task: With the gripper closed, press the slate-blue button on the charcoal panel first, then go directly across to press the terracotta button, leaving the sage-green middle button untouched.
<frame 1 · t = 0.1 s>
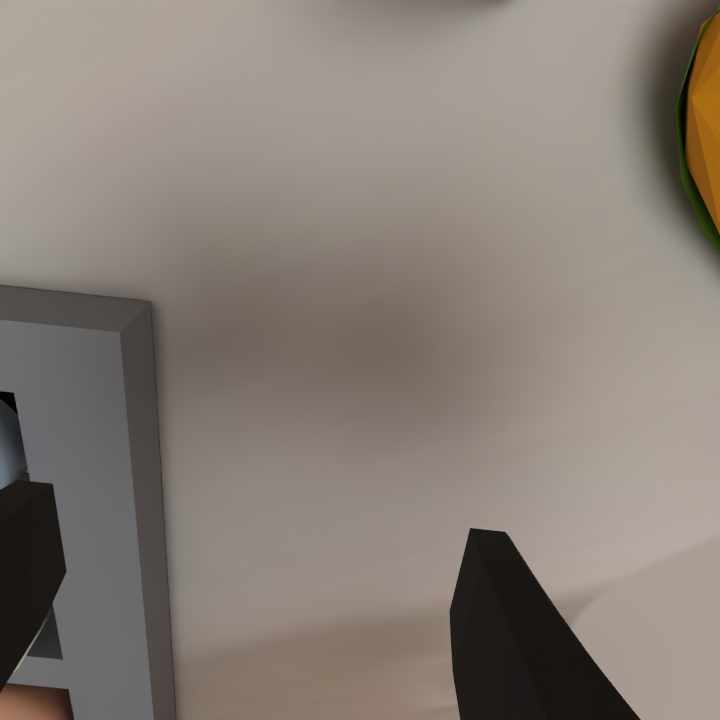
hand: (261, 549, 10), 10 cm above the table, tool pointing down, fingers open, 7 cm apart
button panel: (22, 557, 24), on the table
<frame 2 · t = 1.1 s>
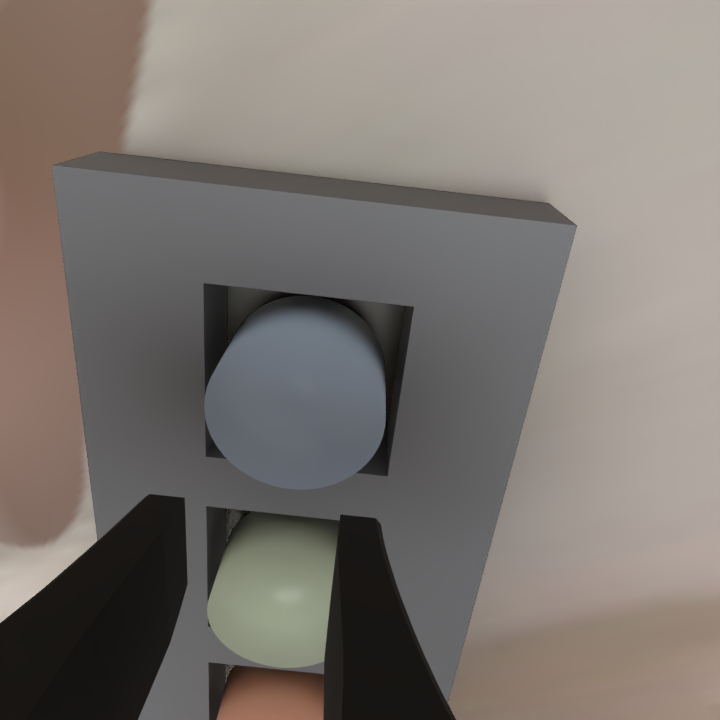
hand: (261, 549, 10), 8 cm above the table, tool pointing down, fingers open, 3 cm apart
button panel: (298, 524, 21), on the table
button slate: (301, 391, 15), point 3 cm above the table, slide at 0.0 cm
button sage: (287, 585, 18), point 3 cm above the table, slide at 0.0 cm
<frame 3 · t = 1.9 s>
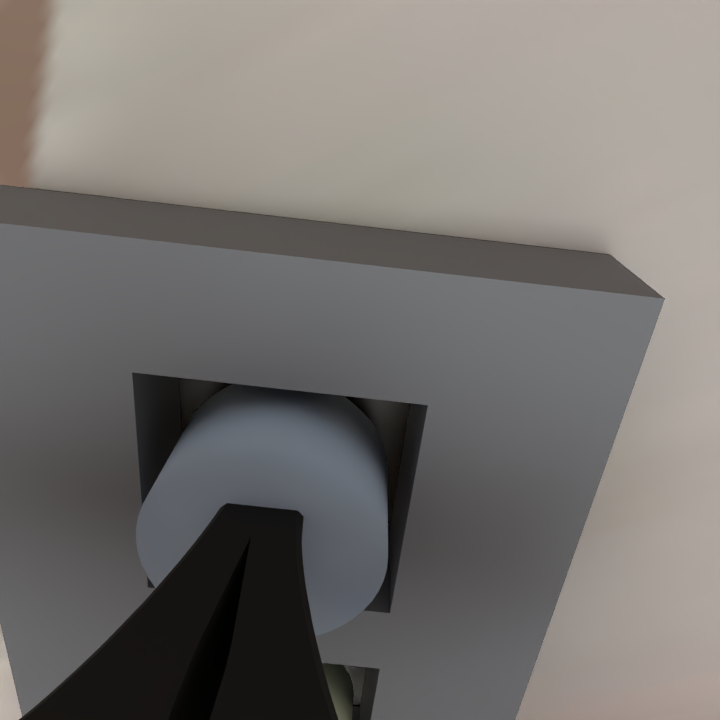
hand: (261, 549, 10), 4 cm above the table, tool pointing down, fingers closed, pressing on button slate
button panel: (278, 639, 17), on the table
button slate: (273, 506, 11), point 3 cm above the table, slide at 0.2 cm, touching gripper
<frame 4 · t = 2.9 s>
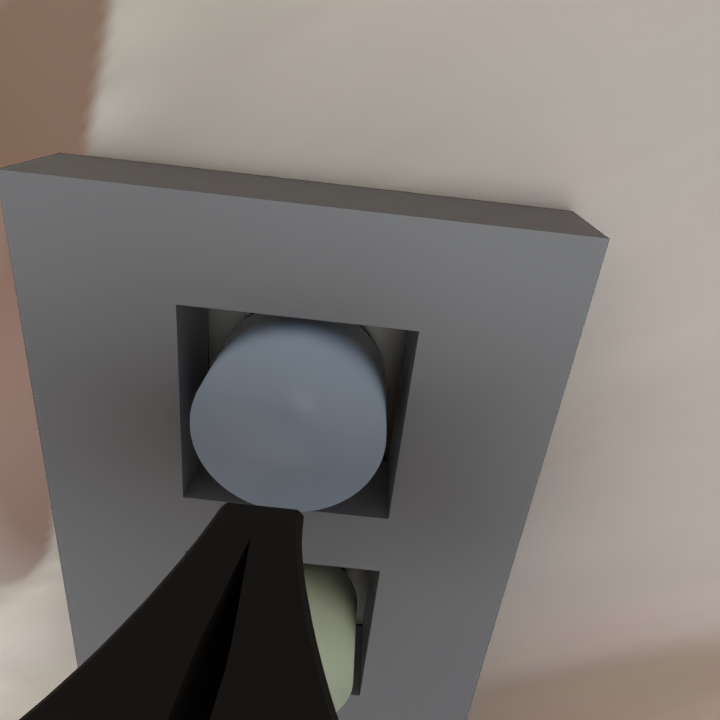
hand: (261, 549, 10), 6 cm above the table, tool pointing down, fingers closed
button panel: (290, 562, 19), on the table
button slate: (295, 406, 14), point 2 cm above the table, slide at 0.9 cm
button sage: (277, 635, 17), point 3 cm above the table, slide at 0.0 cm
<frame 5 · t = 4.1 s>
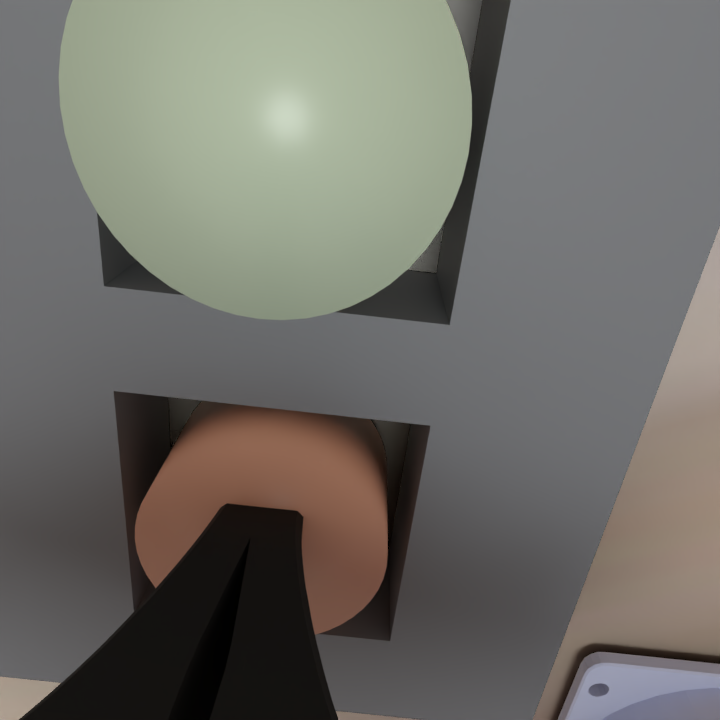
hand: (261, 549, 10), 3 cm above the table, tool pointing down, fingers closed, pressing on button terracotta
button terracotta: (273, 505, 11), point 2 cm above the table, slide at 0.9 cm, touching gripper
button panel: (308, 108, 10), on the table
button sage: (283, 121, 7), point 3 cm above the table, slide at 0.0 cm
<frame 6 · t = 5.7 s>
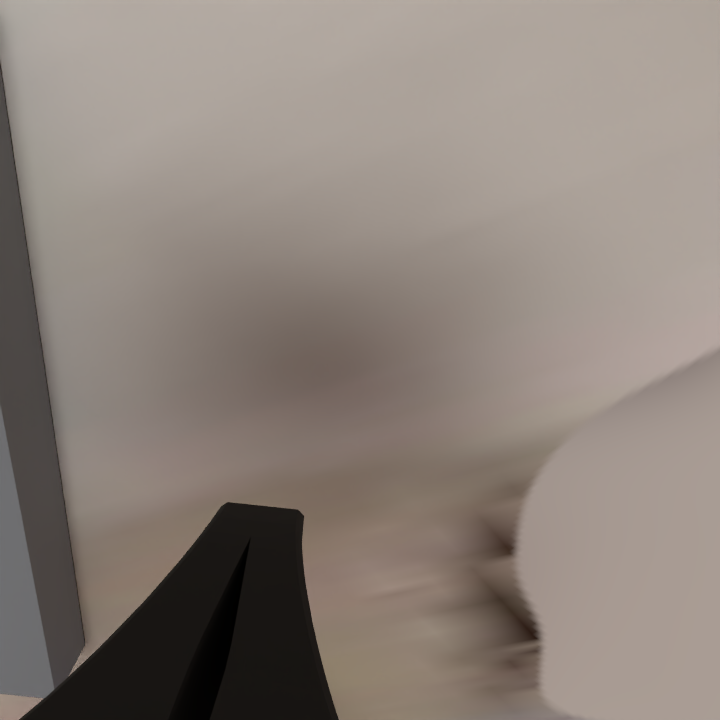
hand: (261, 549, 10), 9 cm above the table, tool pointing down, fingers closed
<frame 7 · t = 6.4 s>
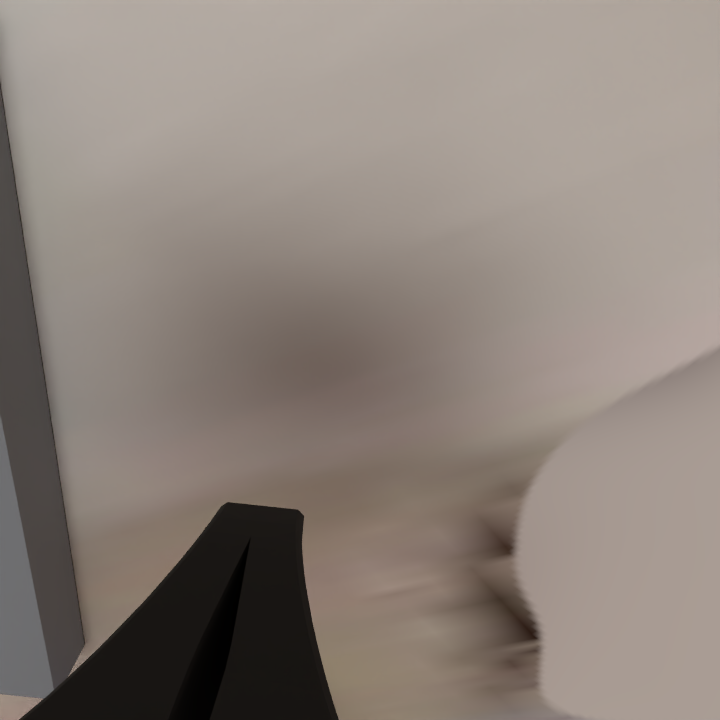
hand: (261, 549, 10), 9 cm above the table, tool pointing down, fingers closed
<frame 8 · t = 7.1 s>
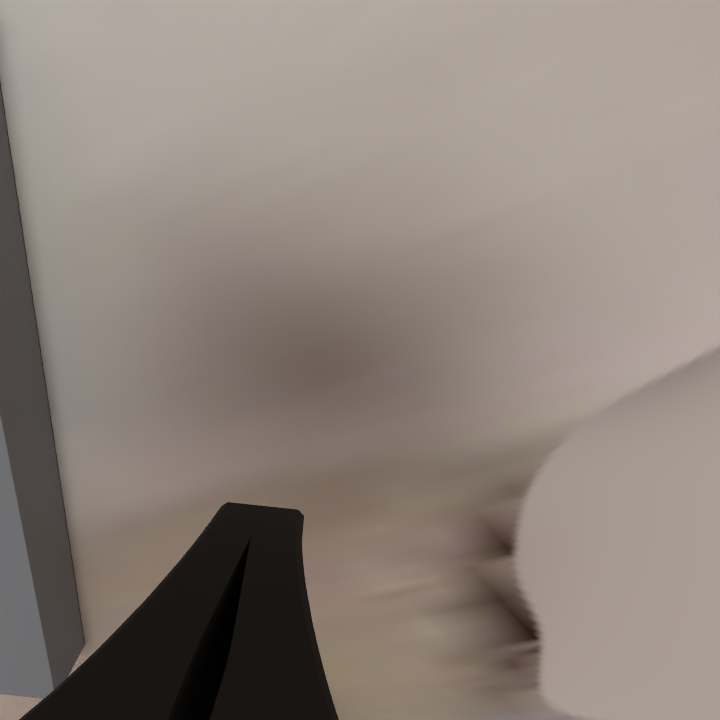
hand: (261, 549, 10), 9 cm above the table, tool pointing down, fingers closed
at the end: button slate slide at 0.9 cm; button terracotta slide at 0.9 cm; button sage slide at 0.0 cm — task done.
